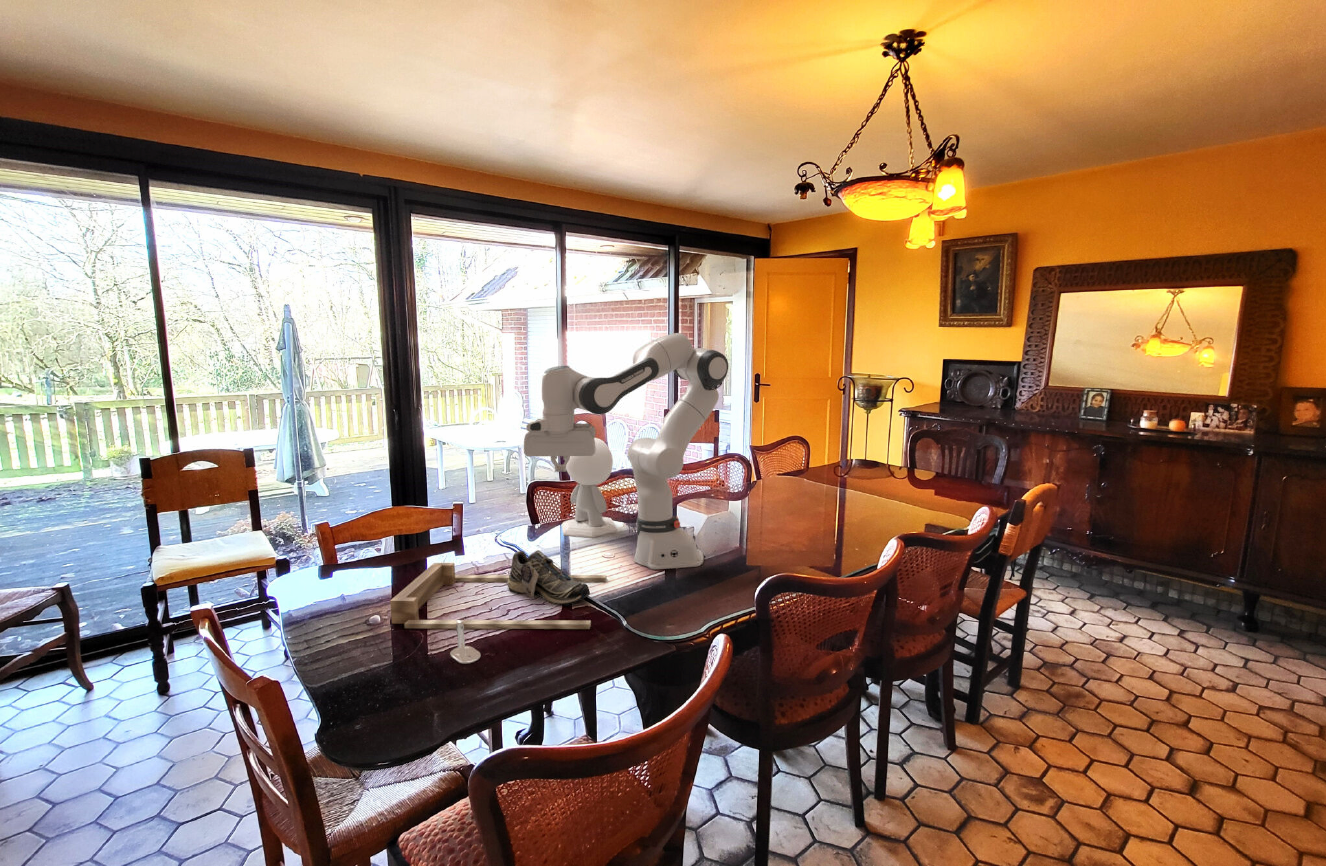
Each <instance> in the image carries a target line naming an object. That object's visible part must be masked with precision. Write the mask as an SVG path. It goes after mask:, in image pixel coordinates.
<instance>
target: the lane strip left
mask: <svg viewBox="0 0 1326 866" xmlns="http://www.w3.org/2000/svg"><path fill="white" fill-rule="evenodd" d="M458 621H462V622H463V626H464V629H466V630H467V629H474V630H475V629H476V630H477V629H479V630H481V629H484V630H485V629H495V630H497V629H498V630H500V629H503V630H505V629H506V630H507V629H508V630H511V629H512V630H515V629H517V630H521V629H524V630H525V629H526V630H527V629H529V630H530V629H532V630H534V629H536V630H542V629H544V630H590V629H591V627H592V621H591V620H572V619H571V620H569V619H568V620H559V619H558V620H557V619H556V620H553V619H550V620H549V619H547V620H543V619H542V620H539V619H538V620H533V619H532V620H531V619H530V620H529V619H527V620H526V619H525V620H524V619H523V620H522V619H521V620H520V619H519V620H517V619H516V620H515V619H510V620H509V619H506V620H505V619H502V620H501V619H498V620H495V619H494V620H493V619H492V620H491V619H485V620H484V619H473V620H472V619H419V620H408V621H407V622H406V623H403V625H404V629H457V622H458Z"/></svg>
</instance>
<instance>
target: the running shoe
mask: <svg viewBox="0 0 1326 866" xmlns="http://www.w3.org/2000/svg"><path fill="white" fill-rule="evenodd" d="M562 568H563V567H559V566H558V564H557V563H556V562H554V560H553V559H551V558H549V557H548V556H547V554H544V553H543V551H540V550H538V549H537V550H535V551H534V552H532V553H531V554H529V556H527V554H526V552H525V551H524V550H519V551H516V552H515V553H513V555H512V559H511V566H510V571H509V574H508V575H509V579H508V581H507V583H506V584H507V587H508V590H509V591H510V593H515V594H519V595H527V597H530V598H531V599H535V596H540V597H541V598H543V599H544V600H545V601H547V602H548V603H550V604H553V605H556V606H565V607H571V606H573V604H575V603H576V602H578V601H581V600H583V599H585V598H587V597H588V596H589V595H590V594H591V591H590V589H589V585H588V584H586V582H584V583H583V582H577V581H575V580H574V579H572V578H571V577H570V576H568V575H571V576H572V575H573V574H570V573H568V572H567V571H565V570H564V569H562ZM572 577H573V576H572ZM574 578H575V577H574ZM575 579H576V578H575ZM578 581H579V580H578Z"/></svg>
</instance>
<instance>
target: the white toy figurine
mask: <svg viewBox="0 0 1326 866" xmlns="http://www.w3.org/2000/svg"><path fill="white" fill-rule="evenodd" d="M594 440H595V447H596V452H595V453H594V454H593V455H592V456H570V459H569V461H568V463H567V465H566V472H567V474H568V475H569V477H570V478H571V480H573V481H574V482H576V483H578V484H576V486H575V487H574V488H573V490H572V493H571V495H570V504H571V505H575V511H574V512H575V514H574V516H575V517H574V518H572V519H568V520H565V521H563V522H562V523H561V528H562V529H561V530H562V534H563V536H566V537H567V536H569V537H580V538H596V537H600V536H604V535H606V534H610V533H614V532H617V531H618V528H617V527H616V524H615V522H614V521H613V519H612V518H611V517H606V516H603V514H604V513H606V512H607V508H608V507H607V502H606V499H605V497H604V495H603V493H602V491H601V489H600V488H599V487H598V485H600V484H601V483H604V482H605V481H606V480H607V479H609V477H610V475H611V474H612V470H613V466H614V461H613V454H612V452H611V450H610V448H609V445H607V443H606V442H605V441H604V440H602V439H600V438H598V437H595V438H594Z"/></svg>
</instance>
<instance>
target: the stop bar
mask: <svg viewBox="0 0 1326 866" xmlns="http://www.w3.org/2000/svg"><path fill="white" fill-rule="evenodd" d="M455 567H456V566H455V562H433V564H431V565H430V566H429V567H428V568H426V569H425V570H424V571H423V572H422V573H420V575H418V576H417V577H416V578H414V580H413V581H411V582H410V583H409V584H408V585H407V586H406V587H404V588H403V589H401V591H399V592H398V594H396V595H395V596H394V597H392V599H390V600H389V604H390V606H389V607H390V616H391V624H405V623H406V622H407V621H408V620H420V616H419V615H420V614H419V609H420V608H421V607H422V606H423V605H424V604H425V603H427V601H429V600H430V598H432V597H433V595H435V594H436V592H437V591H439V590H440V589H441V588H442V587H443V586H454V585H455V584H456V579H455V575H456V569H455Z"/></svg>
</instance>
